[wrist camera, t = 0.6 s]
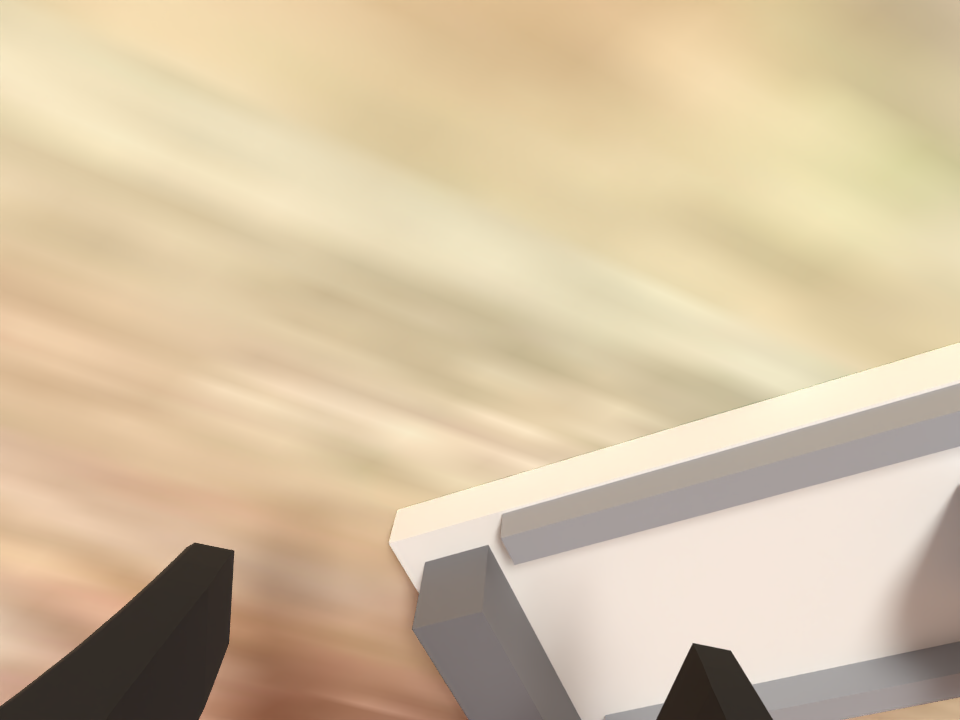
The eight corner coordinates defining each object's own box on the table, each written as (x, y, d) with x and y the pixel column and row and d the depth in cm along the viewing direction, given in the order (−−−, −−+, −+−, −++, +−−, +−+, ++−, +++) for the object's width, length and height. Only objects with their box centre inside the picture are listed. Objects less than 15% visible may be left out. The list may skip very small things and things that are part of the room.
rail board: (1268, 556, 22) (1408, 673, 18) (518, 717, 27) (514, 830, 24) (1282, 246, 18) (1466, 319, 14) (397, 510, 23) (371, 609, 20)
